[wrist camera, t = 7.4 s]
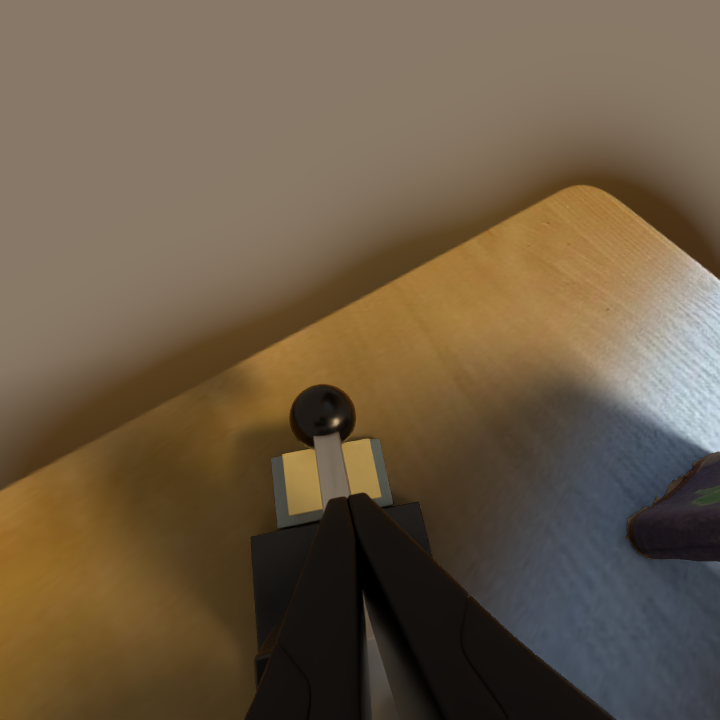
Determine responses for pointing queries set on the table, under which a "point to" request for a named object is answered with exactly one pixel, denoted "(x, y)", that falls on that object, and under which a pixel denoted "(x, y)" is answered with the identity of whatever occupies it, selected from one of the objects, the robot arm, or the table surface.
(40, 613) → the table surface
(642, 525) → the flask
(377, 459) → the butter dish
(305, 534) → the slicer
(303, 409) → the lever handle
